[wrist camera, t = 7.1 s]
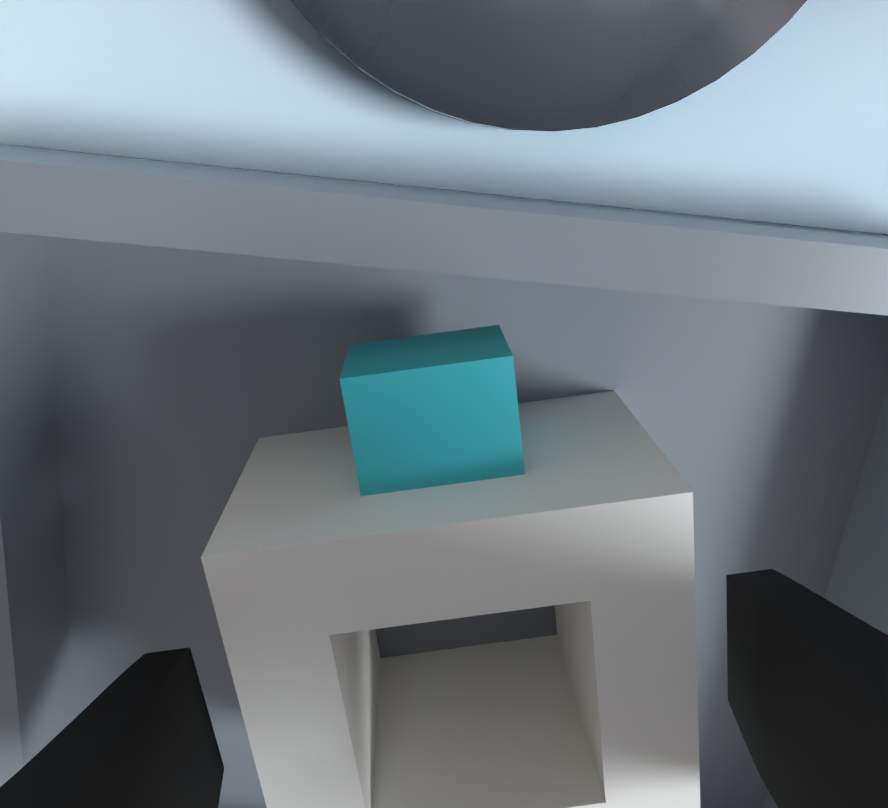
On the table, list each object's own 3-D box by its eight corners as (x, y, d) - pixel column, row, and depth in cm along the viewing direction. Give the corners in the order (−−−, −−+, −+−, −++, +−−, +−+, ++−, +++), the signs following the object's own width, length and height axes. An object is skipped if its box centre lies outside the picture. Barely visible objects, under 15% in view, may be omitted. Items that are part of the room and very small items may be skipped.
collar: (608, 292, 11) (689, 360, 8) (631, 683, 14) (702, 860, 10) (237, 342, 11) (166, 430, 8) (322, 724, 14) (294, 913, 10)
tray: (956, 241, 12) (1083, 268, 10) (769, 843, 16) (829, 963, 14) (-1, 144, 11) (-108, 148, 9) (51, 812, 15) (-13, 935, 13)
